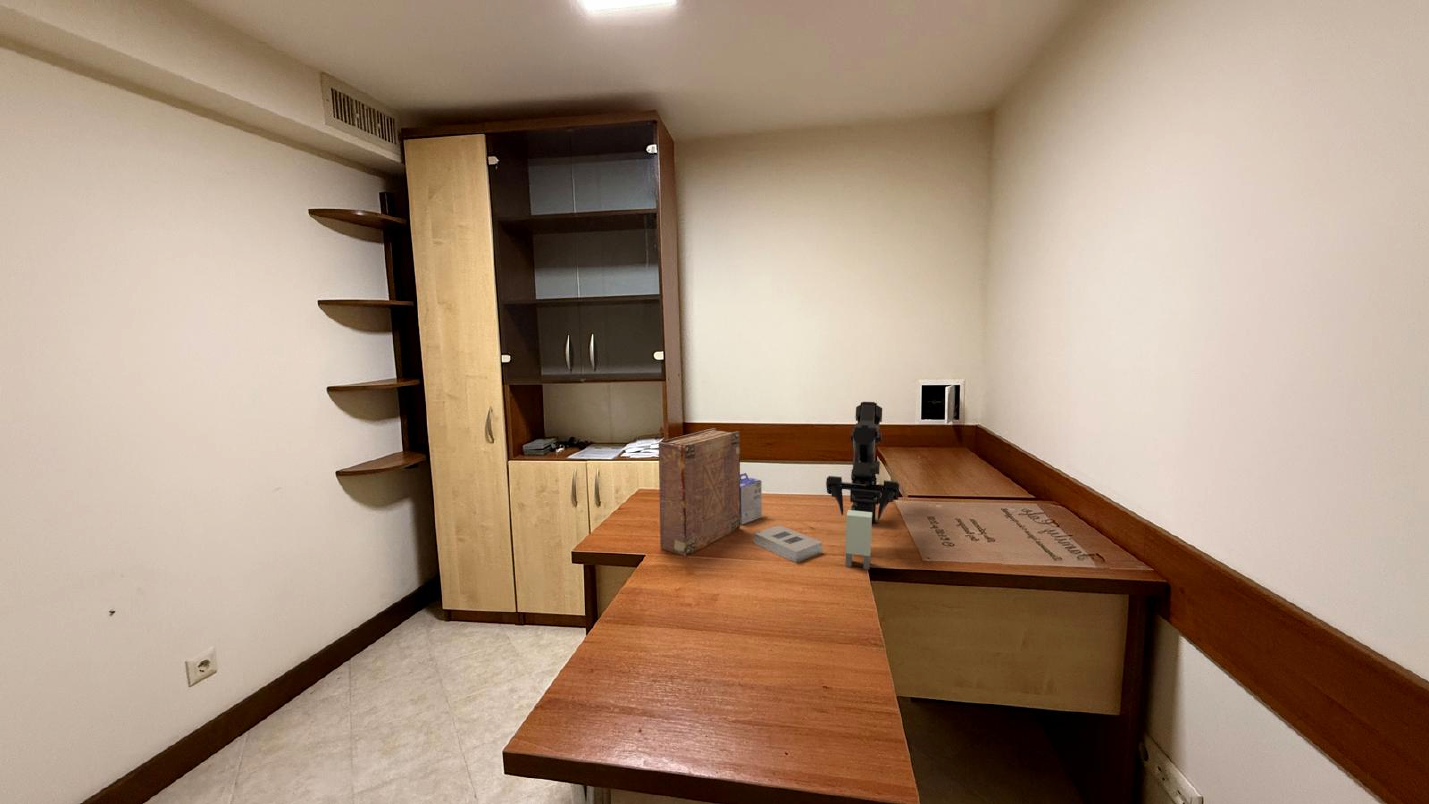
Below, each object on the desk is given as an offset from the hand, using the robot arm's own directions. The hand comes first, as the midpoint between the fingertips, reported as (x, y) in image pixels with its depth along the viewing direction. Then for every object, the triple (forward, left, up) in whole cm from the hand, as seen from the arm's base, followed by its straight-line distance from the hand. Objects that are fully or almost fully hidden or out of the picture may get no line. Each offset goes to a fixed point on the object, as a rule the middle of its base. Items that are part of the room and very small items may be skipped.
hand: (860, 516), depth 138 cm
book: (+39, -20, -11) cm, 45 cm away
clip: (+2, +4, -11) cm, 12 cm away
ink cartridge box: (+23, -33, -11) cm, 42 cm away
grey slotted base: (+17, -9, -11) cm, 22 cm away
